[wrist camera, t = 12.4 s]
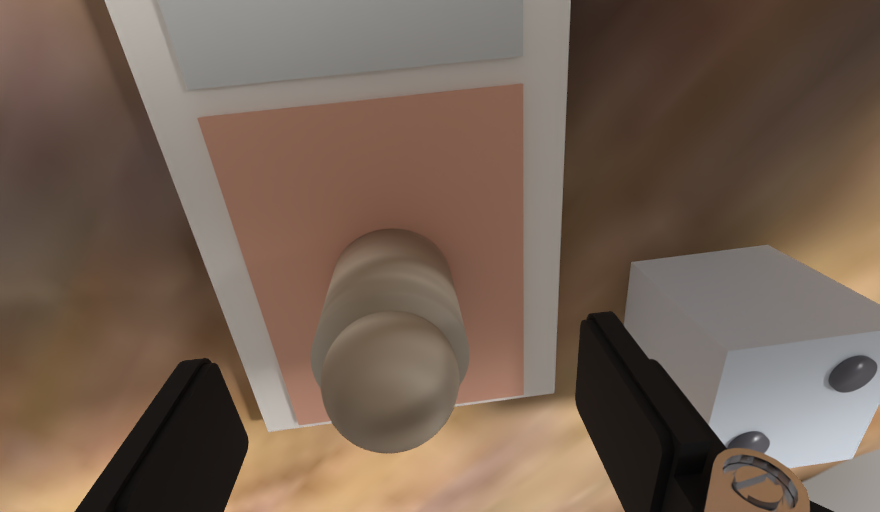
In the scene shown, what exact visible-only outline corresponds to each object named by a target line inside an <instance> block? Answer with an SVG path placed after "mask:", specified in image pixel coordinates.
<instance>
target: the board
mask: <svg viewBox="0 0 880 512" xmlns="http://www.w3.org/2000/svg"><path fill="white" fill-rule="evenodd" d="M105 3H106V6H107V8H108V11H109V13H110V16H111V19H112V21H113V24H114V27H115V29H116V32H117V35H118V37H119V40H120V42H121V45H122V48H123V50H124V53H125V56H126V58H127V61H128V64H129V66H130V69H131V71H132V74H133V77H134V79H135V82H136V85H137V87H138V90H139V93H140V95H141V98H142V100H143V103H144V106H145V108H146V111H147V114H148V116H149V119H150V122H151V124H152V127H153V129H154V132H155V135H156V137H157V140H158V143H159V145H160V148H161V150H162V153H163V156H164V158H165V161H166V164H167V166H168V169H169V172H170V174H171V177H172V179H173V182H174V185H175V187H176V190H177V193H178V195H179V198H180V201H181V203H182V206H183V208H184V211H185V214H186V216H187V219H188V222H189V224H190V227H191V230H192V232H193V235H194V237H195V240H196V243H197V245H198V248H199V251H200V253H201V256H202V259H203V261H204V264H205V266H206V269H207V272H208V274H209V277H210V280H211V282H212V285H213V288H214V290H215V293H216V295H217V298H218V301H219V303H220V306H221V309H222V311H223V314H224V316H225V319H226V322H227V324H228V327H229V330H230V332H231V335H232V338H233V340H234V343H235V345H236V348H237V351H238V353H239V356H240V359H241V361H242V364H243V367H244V369H245V372H246V374H247V377H248V380H249V382H250V385H251V388H252V390H253V393H254V396H255V398H256V401H257V403H258V406H259V409H260V411H261V414H262V417H263V419H264V422H265V425H266V427H267V430H268V432H272V431H279V430H286V429H294V428H301V427H308V426H316V425H323V424H331V423H332V422H331V420H330V418H329V416H328V415H327V413H326V410H325V407H324V404H323V400H322V395H321V388H320V387H319V385H318V384H317V382H316V380H315V377H314V375H313V372H312V367H311V348H312V344H313V340H314V337H315V334H316V330H317V327H318V323H319V320H320V316H321V313H322V309H323V306H324V303H325V299H326V296H327V292H328V289H329V285H330V282H331V279H332V275H333V272H334V268H335V265H336V262H337V260H338V258H339V256H340V255H341V254H342V252H343V251H344V250H345V248H346V247H347V246H348V245H349V244H351V243H352V242H353V241H354V240H356V239H357V238H359V237H361V236H362V235H365V234H367V233H369V232H373V231H376V230H381V229H403V230H409V231H412V232H415V233H418V234H420V235H422V236H424V237H426V238H427V239H429V240H430V241H431V242H433V243H434V244H435V245H436V246H437V247H438V248H439V249H440V250H441V252H442V253H443V254H444V256H445V258H446V260H447V262H448V264H449V267H450V271H451V275H452V279H453V283H454V287H455V291H456V295H457V299H458V303H459V307H460V311H461V315H462V319H463V324H464V328H465V332H466V336H467V340H468V344H469V351H470V358H469V365H468V369H467V372H466V375H465V377H464V379H463V381H462V383H461V384H460V386H459V391H458V396H457V400H456V403H455V406H454V407H456V406H463V405H471V404H478V403H486V402H493V401H500V400H508V399H515V398H523V397H530V396H537V395H545V394H552V393H554V392H555V368H556V344H557V320H558V296H559V271H560V247H561V223H562V199H563V175H564V151H565V127H566V102H567V78H568V54H569V30H570V6H571V0H105Z"/></svg>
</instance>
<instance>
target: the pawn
mask: <svg viewBox="0 0 880 512" xmlns="http://www.w3.org/2000/svg"><path fill="white" fill-rule="evenodd" d="M469 358H470V351H469V344H468V340H467V336H466V332H465V328H464V324H463V319H462V315H461V311H460V307H459V303H458V299H457V295H456V291H455V287H454V283H453V279H452V275H451V271H450V267H449V264H448V262H447V260H446V258H445V256H444V254H443V253H442V252H441V250H440V249H439V248H438V247H437V246H436V245H435V244H434V243H433V242H431V241H430V240H429V239H427V238H426V237H424V236H422V235H420V234H418V233H415V232H412V231H409V230H403V229H381V230H376V231H373V232H369V233H367V234H365V235H362V236H361V237H359V238H357V239H356V240H354V241H353V242H352V243H351V244H349V245H348V246H347V247H346V248H345V250H344V251H343V252H342V254H341V255H340V256H339V258H338V260H337V262H336V265H335V268H334V272H333V275H332V279H331V282H330V285H329V289H328V292H327V296H326V299H325V303H324V306H323V309H322V313H321V316H320V320H319V323H318V327H317V330H316V334H315V337H314V340H313V344H312V348H311V367H312V372H313V375H314V377H315V380H316V382H317V384H318V385H319V387H320V388H321V395H322V400H323V404H324V407H325V410H326V413H327V415H328V416H329V418H330V420H331V422H332V424H333V425H334V426H335V428H336V429H337V430H338V431H339V432H340V433H341V434H342V435H343V436H344V437H345V438H346V439H347V440H349V441H350V442H352V443H353V444H355V445H357V446H358V447H360V448H363V449H365V450H369V451H373V452H378V453H398V452H403V451H407V450H410V449H413V448H416V447H418V446H420V445H422V444H423V443H425V442H426V441H428V440H429V439H430V438H432V437H433V436H434V435H435V434H436V433H437V432H438V431H439V430H440V429H441V428H442V427H443V425H444V424H445V423H446V421H447V420H448V418H449V416H450V414H451V412H452V411H453V409H454V406H455V403H456V400H457V396H458V391H459V386H460V384H461V383H462V381H463V379H464V377H465V375H466V372H467V369H468V365H469Z"/></svg>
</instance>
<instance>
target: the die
mask: <svg viewBox="0 0 880 512" xmlns="http://www.w3.org/2000/svg"><path fill="white" fill-rule="evenodd" d="M624 327H625V328H626V329H627V331H628V332H629V333H630V335H631V336H632V337H633V338H634V340H635V341H636V342H637V344H638V345H639V346H640V348H641V349H642V350H643V352H644V353H645V354H646V355H647V357H648V358H649V359H654V360H656V361H658V362H659V363H660V364H661V365H662V367H663V368H664V369H665V370H666V372H667V373H668V374H669V376H670V377H671V378H672V379H673V381H674V382H675V383H676V384H677V386H678V387H679V388H680V389H681V391H682V392H683V393H684V395H685V396H686V397H687V398H688V400H689V401H690V402H691V403H692V405H693V406H694V407H695V409H696V410H697V411H698V412H699V414H700V415H701V416H702V417H703V419H704V420H705V421H706V422H707V424H708V425H709V426H710V428H711V429H712V430H713V431H714V433H715V434H716V435H717V436H718V438H719V439H720V440H721V441H722V443H723V444H724V445H725V447H726V448H727V449H732V448H744V449H750V450H754V451H758V452H761V453H763V454H766V455H768V456H770V457H772V458H774V459H776V460H777V461H779V462H780V463H782V464H783V465H785V466H786V467H788V468H794V467H801V466H808V465H814V464H821V463H828V462H835V461H841V460H848V459H852V458H853V456H854V454H855V452H856V450H857V448H858V446H859V444H860V442H861V440H862V438H863V436H864V434H865V432H866V430H867V428H868V426H869V424H870V422H871V420H872V418H873V416H874V414H875V412H876V410H877V408H878V406H879V404H880V305H879V304H878V303H876V302H874V301H872V300H870V299H868V298H866V297H864V296H863V295H861V294H859V293H857V292H855V291H853V290H851V289H850V288H848V287H846V286H844V285H842V284H840V283H838V282H836V281H835V280H833V279H831V278H829V277H827V276H825V275H823V274H822V273H820V272H818V271H816V270H814V269H812V268H810V267H808V266H807V265H805V264H803V263H801V262H799V261H797V260H795V259H794V258H792V257H790V256H788V255H786V254H784V253H782V252H780V251H779V250H777V249H775V248H773V247H771V246H769V245H760V246H753V247H745V248H737V249H729V250H722V251H714V252H706V253H698V254H691V255H683V256H675V257H667V258H659V259H652V260H644V261H636V262H631V268H630V277H629V285H628V293H627V302H626V310H625V318H624Z"/></svg>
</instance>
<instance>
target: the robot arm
mask: <svg viewBox="0 0 880 512" xmlns="http://www.w3.org/2000/svg"><path fill="white" fill-rule="evenodd" d="M575 400H576V406H577V409H578V412H579V414H580V416H581V418H582V420H583V422H584V425H585V427H586V429H587V431H588V433H589V435H590V437H591V440H592V442H593V444H594V446H595V448H596V450H597V453H598V455H599V457H600V459H601V461H602V463H603V465H604V468H605V470H606V472H607V474H608V476H609V478H610V480H611V483H612V485H613V487H614V489H615V491H616V493H617V495H618V498H619V500H620V502H621V504H622V506H623V508H624V510H625V512H834V511H831V510H829V509H827V508H825V507H822V506H820V505H818V504H816V503H814V502H812V501H810V500H809V497H808V493H807V490H806V489H805V487H804V485H803V484H802V482H801V481H800V479H799V478H798V477H797V476H796V475H795V474H794V473H793V472H792V471H791V470H790V469H789V468H788V467H786V466H785V465H783V464H782V463H780V462H779V461H777V460H776V459H774V458H772V457H770V456H768V455H766V454H763V453H761V452H758V451H754V450H750V449H744V448H732V449H727V448H726V447H725V445H724V444H723V443H722V441H721V440H720V439H719V438H718V436H717V435H716V434H715V433H714V431H713V430H712V429H711V428H710V426H709V425H708V424H707V422H706V421H705V420H704V419H703V417H702V416H701V415H700V414H699V412H698V411H697V410H696V409H695V407H694V406H693V405H692V403H691V402H690V401H689V400H688V398H687V397H686V396H685V395H684V393H683V392H682V391H681V389H680V388H679V387H678V386H677V384H676V383H675V382H674V381H673V379H672V378H671V377H670V376H669V374H668V373H667V372H666V370H665V369H664V368H663V367H662V365H661V364H660V363H659V362H658V361H656V360H654V359H649V358H648V357H647V355H646V354H645V353H644V352H643V350H642V349H641V348H640V346H639V345H638V344H637V342H636V341H635V340H634V338H633V337H632V336H631V335H630V333H629V332H628V331H627V329H626V328H625V327H624V325H623V324H622V323H621V321H620V320H619V319H618V318H617V316H616V315H615V314H614V313H613V312H611V311H609V312H600V313H592V314H589V315H588V317H587V320H583V321H582V322H581V327H580V340H579V353H578V367H577V380H576V393H575ZM247 450H248V436H247V433H246V431H245V429H244V426H243V424H242V421H241V419H240V417H239V414H238V412H237V409H236V407H235V405H234V402H233V400H232V398H231V395H230V393H229V390H228V388H227V386H226V383H225V381H224V378H223V376H222V374H221V371H220V369H219V367H218V365H217V364H216V363H211V361H210V360H209V359H206V358H203V359H194V360H186V361H182V362H180V363H179V364H178V366H177V367H176V368H175V370H174V371H173V373H172V374H171V376H170V377H169V378H168V380H167V381H166V383H165V384H164V385H163V387H162V388H161V390H160V391H159V393H158V394H157V395H156V397H155V398H154V400H153V401H152V403H151V404H150V405H149V407H148V408H147V410H146V411H145V412H144V414H143V415H142V417H141V418H140V420H139V421H138V422H137V424H136V425H135V427H134V428H133V430H132V431H131V432H130V434H129V435H128V437H127V438H126V439H125V441H124V442H123V444H122V445H121V447H120V448H119V449H118V451H117V452H116V454H115V455H114V457H113V458H112V459H111V461H110V462H109V464H108V465H107V466H106V468H105V469H104V471H103V472H102V474H101V475H100V476H99V478H98V479H97V481H96V482H95V484H94V485H93V486H92V488H91V489H90V491H89V492H88V493H87V495H86V496H85V498H84V499H83V501H82V502H81V503H80V505H79V506H78V508H77V509H76V511H75V512H224V510H225V507H226V505H227V502H228V500H229V497H230V494H231V492H232V489H233V487H234V484H235V482H236V479H237V476H238V474H239V471H240V469H241V466H242V463H243V461H244V458H245V456H246V453H247Z"/></svg>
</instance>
